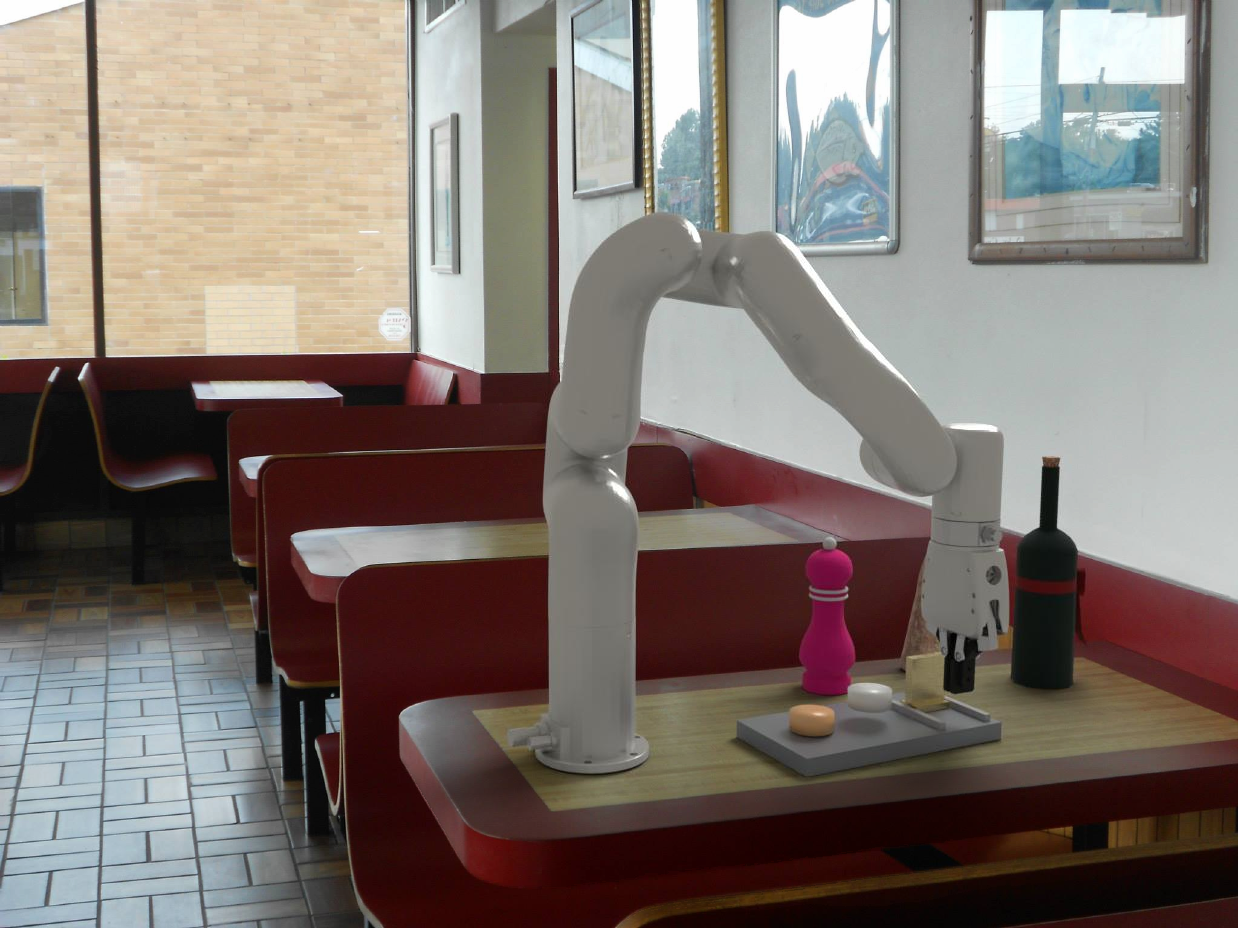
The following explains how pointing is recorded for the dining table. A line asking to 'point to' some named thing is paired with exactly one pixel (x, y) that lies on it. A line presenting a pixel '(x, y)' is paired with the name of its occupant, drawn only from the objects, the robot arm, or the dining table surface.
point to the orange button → (811, 720)
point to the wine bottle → (1046, 596)
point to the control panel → (869, 735)
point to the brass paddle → (925, 682)
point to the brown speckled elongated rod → (918, 630)
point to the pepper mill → (827, 623)
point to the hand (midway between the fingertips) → (958, 690)
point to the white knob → (869, 697)
